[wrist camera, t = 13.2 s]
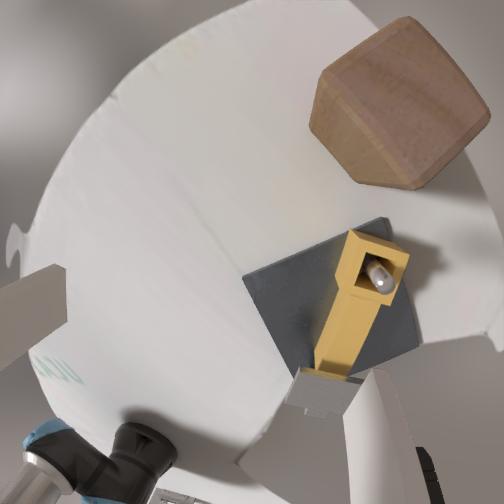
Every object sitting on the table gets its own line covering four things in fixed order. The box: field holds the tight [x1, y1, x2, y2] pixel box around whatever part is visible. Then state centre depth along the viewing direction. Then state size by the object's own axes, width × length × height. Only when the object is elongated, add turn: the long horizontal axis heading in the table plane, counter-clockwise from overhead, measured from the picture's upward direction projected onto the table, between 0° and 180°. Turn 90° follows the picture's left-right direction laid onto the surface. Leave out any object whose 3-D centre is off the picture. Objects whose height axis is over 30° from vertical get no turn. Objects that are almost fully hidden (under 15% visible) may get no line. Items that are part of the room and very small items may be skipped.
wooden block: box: [309, 16, 491, 191], centre depth 24 cm, size 10×10×20 cm
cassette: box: [149, 488, 195, 504], centre depth 57 cm, size 12×2×8 cm, turn 88°
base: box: [242, 217, 419, 378], centre depth 34 cm, size 20×21×11 cm
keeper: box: [285, 366, 364, 419], centre depth 37 cm, size 8×10×10 cm
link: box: [314, 229, 410, 376], centre depth 35 cm, size 18×6×6 cm, turn 166°
